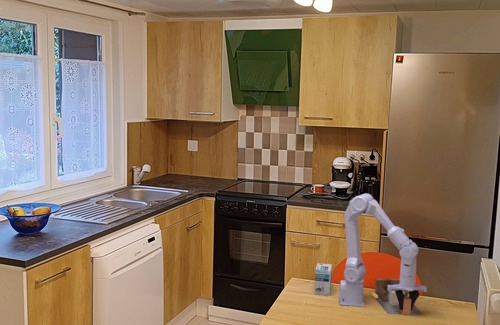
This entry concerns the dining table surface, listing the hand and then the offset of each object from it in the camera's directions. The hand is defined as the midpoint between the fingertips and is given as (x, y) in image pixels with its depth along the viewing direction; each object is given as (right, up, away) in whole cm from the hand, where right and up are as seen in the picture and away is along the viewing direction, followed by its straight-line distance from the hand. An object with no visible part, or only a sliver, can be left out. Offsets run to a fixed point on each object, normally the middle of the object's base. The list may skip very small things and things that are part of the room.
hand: (405, 309), depth 206 cm
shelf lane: (-1, -1, +12) cm, 12 cm away
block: (0, -1, +6) cm, 6 cm away
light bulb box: (-28, +1, +24) cm, 37 cm away
